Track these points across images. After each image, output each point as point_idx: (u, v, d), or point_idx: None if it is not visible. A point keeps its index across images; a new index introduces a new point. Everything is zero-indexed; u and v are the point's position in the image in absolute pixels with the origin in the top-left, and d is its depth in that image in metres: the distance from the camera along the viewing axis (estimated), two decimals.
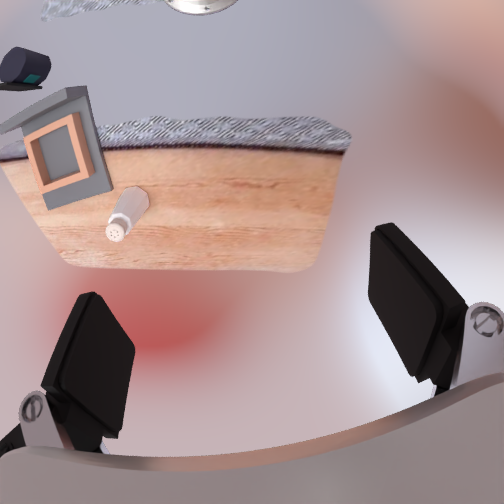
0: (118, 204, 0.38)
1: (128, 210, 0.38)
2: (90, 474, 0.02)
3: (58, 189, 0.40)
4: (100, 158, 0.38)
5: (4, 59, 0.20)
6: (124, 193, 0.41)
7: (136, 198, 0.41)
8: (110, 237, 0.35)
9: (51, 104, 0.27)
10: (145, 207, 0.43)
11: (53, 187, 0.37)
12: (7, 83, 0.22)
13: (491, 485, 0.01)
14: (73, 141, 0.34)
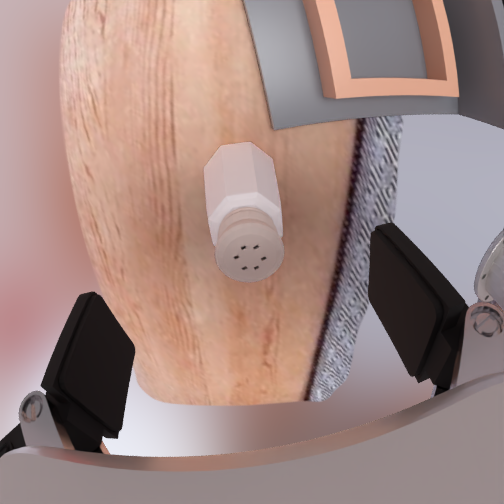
0: None
1: None
2: (90, 474, 0.02)
3: None
4: (351, 116, 0.18)
5: None
6: None
7: None
8: (234, 243, 0.11)
9: None
10: None
11: None
12: None
13: (491, 485, 0.01)
14: (416, 83, 0.14)
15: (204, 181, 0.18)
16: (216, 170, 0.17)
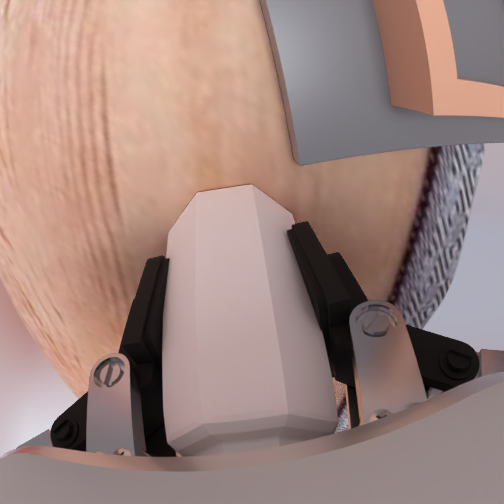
0: None
1: None
2: (90, 474, 0.02)
3: None
4: (430, 142, 0.09)
5: None
6: None
7: None
8: None
9: None
10: None
11: None
12: None
13: (491, 485, 0.01)
14: None
15: None
16: (184, 269, 0.08)
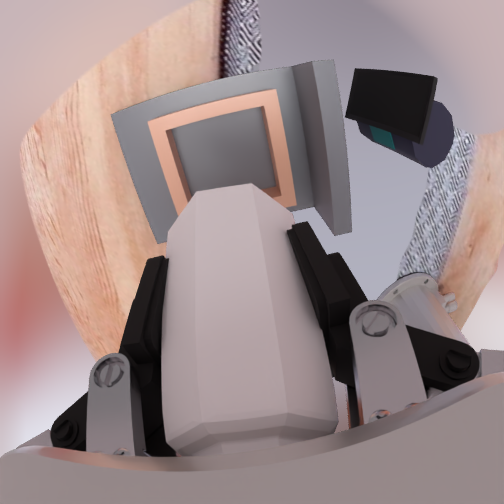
0: None
1: None
2: (90, 474, 0.02)
3: (152, 143, 0.23)
4: None
5: (447, 116, 0.17)
6: None
7: None
8: None
9: (334, 205, 0.22)
10: None
11: (162, 155, 0.22)
12: (419, 143, 0.17)
13: (491, 485, 0.01)
14: None
15: None
16: (183, 268, 0.08)
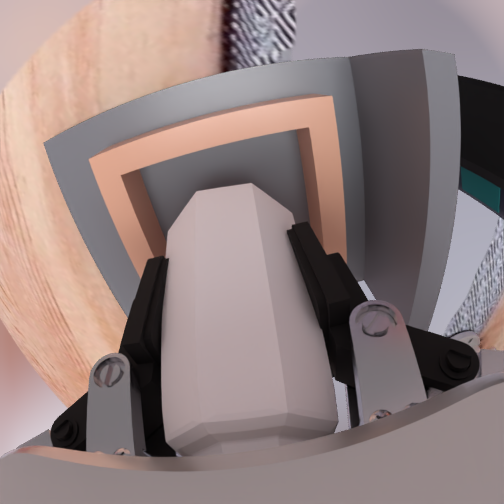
0: None
1: None
2: (90, 474, 0.02)
3: None
4: None
5: None
6: None
7: None
8: None
9: (414, 309, 0.12)
10: None
11: (119, 219, 0.12)
12: None
13: (491, 485, 0.01)
14: None
15: None
16: (183, 268, 0.08)
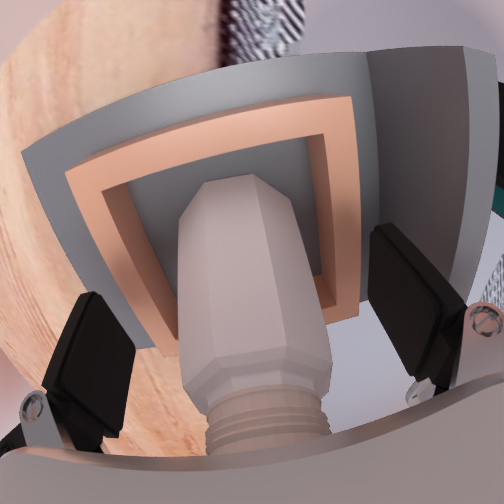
0: None
1: None
2: (90, 474, 0.02)
3: None
4: None
5: None
6: None
7: None
8: None
9: None
10: None
11: (102, 241, 0.10)
12: None
13: (491, 485, 0.01)
14: None
15: None
16: (195, 244, 0.09)
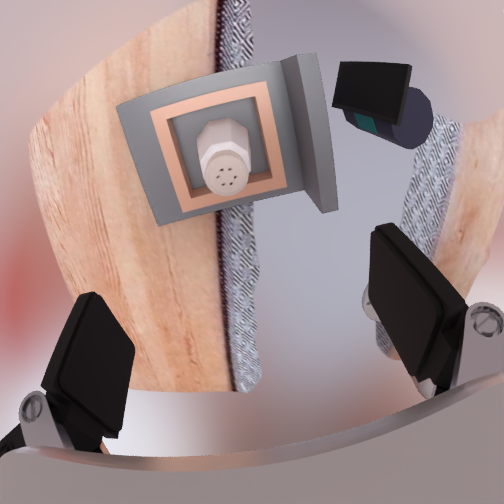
0: (248, 145, 0.22)
1: None
2: (90, 474, 0.02)
3: (154, 132, 0.25)
4: (206, 211, 0.31)
5: (426, 101, 0.19)
6: (248, 137, 0.25)
7: None
8: (216, 167, 0.17)
9: (321, 184, 0.24)
10: None
11: (163, 141, 0.24)
12: (396, 125, 0.18)
13: (491, 485, 0.01)
14: None
15: (197, 145, 0.24)
16: (205, 135, 0.23)
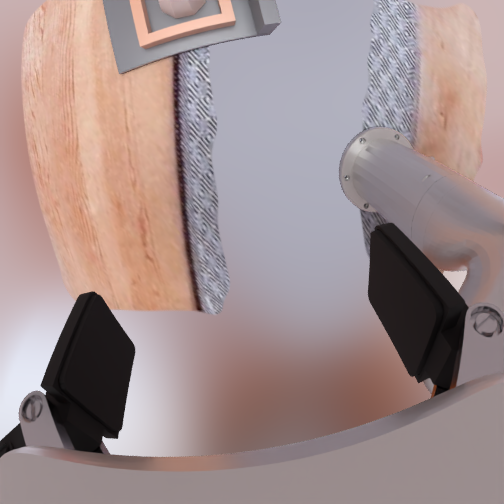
0: None
1: None
2: (90, 474, 0.02)
3: None
4: (164, 55, 0.26)
5: None
6: None
7: None
8: None
9: (260, 0, 0.19)
10: (177, 12, 0.21)
11: None
12: None
13: (491, 485, 0.01)
14: (193, 22, 0.22)
15: None
16: None
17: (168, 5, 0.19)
